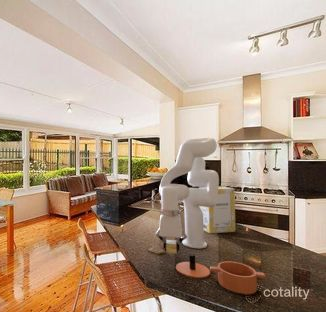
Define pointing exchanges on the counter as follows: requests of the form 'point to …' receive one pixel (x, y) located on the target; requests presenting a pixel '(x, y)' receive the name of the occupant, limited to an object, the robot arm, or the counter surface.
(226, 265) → the pan
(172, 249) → the block
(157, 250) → the shard
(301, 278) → the counter surface
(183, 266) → the lid
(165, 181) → the robot arm
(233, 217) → the pasta box
